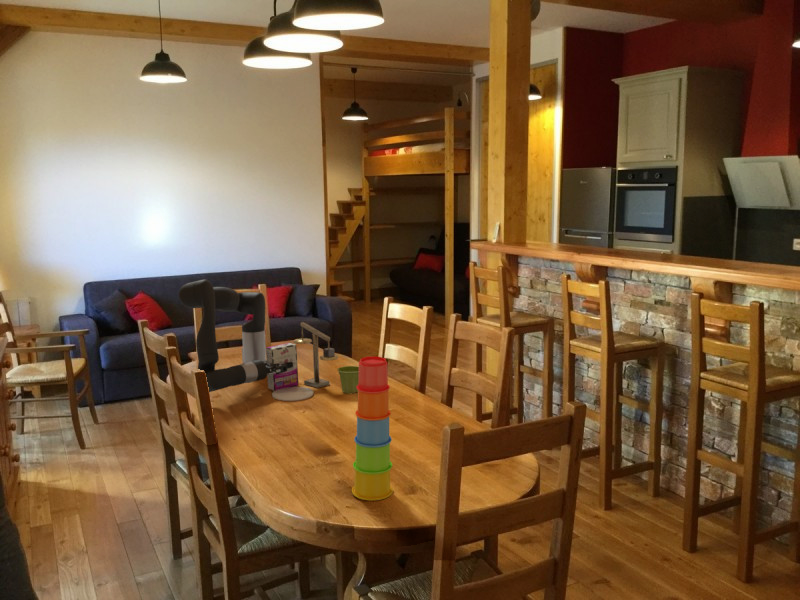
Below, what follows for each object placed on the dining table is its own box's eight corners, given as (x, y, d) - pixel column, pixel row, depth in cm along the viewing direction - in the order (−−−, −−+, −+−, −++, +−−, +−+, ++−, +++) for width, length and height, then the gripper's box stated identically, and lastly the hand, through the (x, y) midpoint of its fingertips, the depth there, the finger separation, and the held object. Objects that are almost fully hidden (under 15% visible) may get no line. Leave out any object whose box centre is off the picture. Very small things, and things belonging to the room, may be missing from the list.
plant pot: (364, 388, 274) (364, 365, 272) (361, 395, 265) (360, 372, 263) (340, 387, 275) (339, 365, 273) (335, 394, 265) (335, 372, 264)
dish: (264, 395, 266) (263, 393, 266) (295, 387, 277) (295, 384, 276) (289, 403, 256) (289, 400, 256) (321, 394, 267) (321, 391, 266)
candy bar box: (291, 383, 282) (289, 342, 279) (298, 385, 278) (297, 344, 276) (267, 389, 275) (265, 346, 272) (274, 391, 271) (272, 349, 268)
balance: (291, 381, 285) (289, 322, 281) (305, 377, 290) (303, 320, 286) (329, 391, 270) (327, 329, 266) (343, 387, 275) (341, 326, 271)
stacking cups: (394, 484, 185) (392, 353, 180) (391, 501, 175) (388, 363, 170) (354, 483, 186) (351, 353, 181) (349, 501, 176) (345, 363, 170)
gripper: (262, 365, 259) (299, 356, 272) (239, 358, 269) (275, 350, 281) (263, 385, 261) (299, 375, 273) (240, 378, 270) (276, 369, 282)
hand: (287, 363), depth 277 cm, fingers closed on candy bar box, 5 cm apart
